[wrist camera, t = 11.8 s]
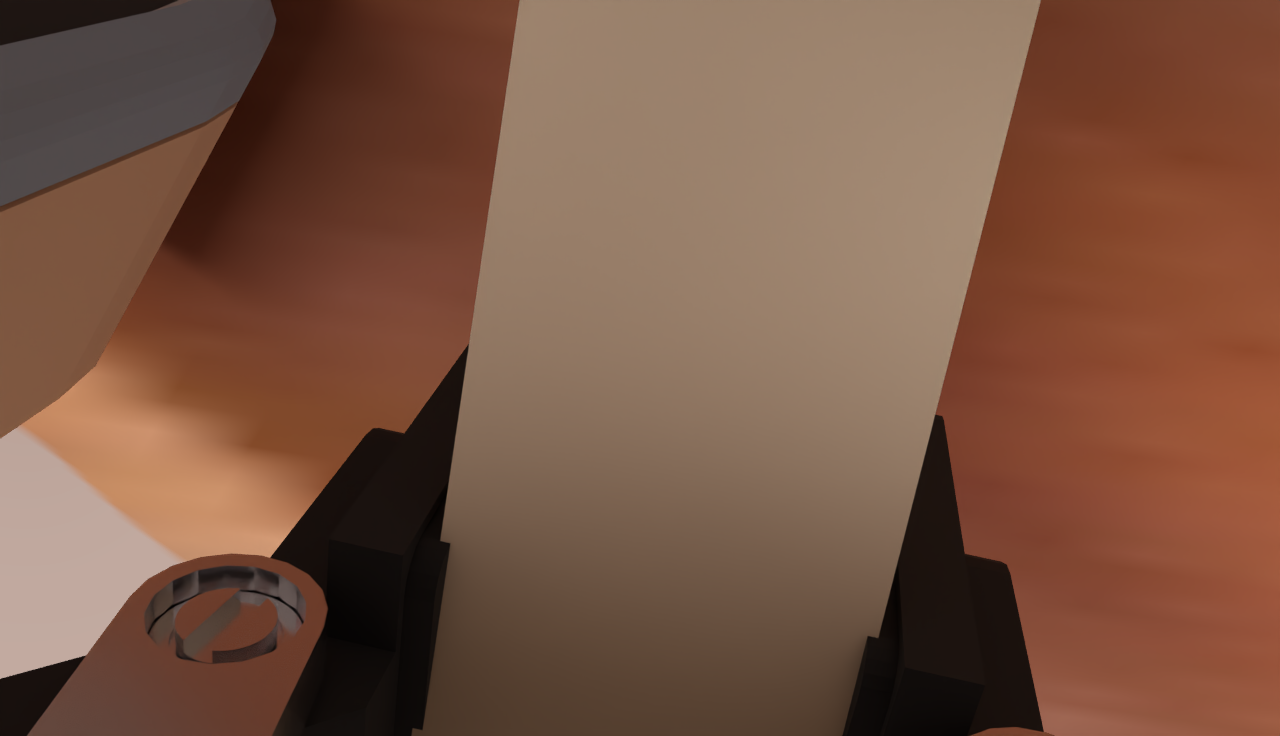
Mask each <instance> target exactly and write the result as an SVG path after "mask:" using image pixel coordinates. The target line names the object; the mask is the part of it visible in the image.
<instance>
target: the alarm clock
mask: <svg viewBox="0 0 1280 736" xmlns="http://www.w3.org/2000/svg"><path fill="white" fill-rule="evenodd" d="M275 24H276V17H275V14H274V10H273V7H272V4H271V0H0V438H2V437H3V436H5V435H6V434H8V433H9V432H11V431H12V430H14V429H15V428H17V427H18V426H19V425H21V424H22V423H24V422H25V421H27V420H28V419H30V418H31V417H33V416H34V415H36V414H37V413H38V412H40V411H41V410H43V409H44V408H46V407H47V406H49V405H50V404H52V403H53V402H55V401H56V400H58V399H59V398H60V397H61V396H62V395H64V394H65V393H66V392H67V391H68V390H69V389H70V388H71V387H72V386H74V385H75V384H76V383H77V382H78V381H79V380H80V379H81V378H82V377H84V376H85V375H86V374H87V373H88V372H89V371H90V370H91V369H92V368H94V367H95V366H96V364H97V362H98V360H99V358H100V356H101V355H102V353H103V351H104V349H105V347H106V345H107V344H108V342H109V340H110V338H111V336H112V334H113V332H114V331H115V329H116V327H117V325H118V323H119V321H120V320H121V318H122V316H123V314H124V312H125V310H126V308H127V307H128V305H129V303H130V301H131V299H132V297H133V296H134V294H135V292H136V290H137V288H138V286H139V284H140V283H141V281H142V279H143V277H144V275H145V273H146V272H147V270H148V268H149V266H150V264H151V262H152V260H153V259H154V257H155V255H156V253H157V251H158V249H159V248H160V246H161V244H162V242H163V240H164V238H165V236H166V235H167V233H168V231H169V229H170V227H171V225H172V224H173V222H174V220H175V218H176V216H177V214H178V213H179V211H180V209H181V207H182V205H183V203H184V201H185V200H186V198H187V196H188V194H189V192H190V190H191V189H192V187H193V185H194V183H195V181H196V179H197V177H198V176H199V174H200V172H201V170H202V168H203V166H204V165H205V163H206V161H207V159H208V157H209V155H210V153H211V152H212V150H213V148H214V146H215V144H216V142H217V141H218V139H219V137H220V135H221V133H222V131H223V129H224V128H225V126H226V124H227V122H228V120H229V118H230V117H231V115H232V113H233V111H234V109H235V107H236V105H237V103H238V101H239V100H240V98H241V96H242V94H243V93H244V91H245V89H246V87H247V85H248V83H249V81H250V80H251V78H252V76H253V74H254V72H255V70H256V69H257V67H258V65H259V63H260V61H261V59H262V57H263V55H264V53H265V51H266V49H267V47H268V45H269V43H270V41H271V39H272V37H273V34H274V30H275Z"/></svg>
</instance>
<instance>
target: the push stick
mask: <svg viewBox="0 0 1280 736" xmlns="http://www.w3.org/2000/svg"><path fill="white" fill-rule="evenodd" d="M1040 2H1041V0H520V2H519V9H518V15H517V22H516V29H515V36H514V43H513V49H512V56H511V63H510V70H509V77H508V83H507V90H506V97H505V104H504V111H503V117H502V124H501V131H500V138H499V145H498V151H497V158H496V165H495V172H494V179H493V185H492V192H491V199H490V206H489V213H488V219H487V226H486V233H485V240H484V247H483V253H482V260H481V267H480V274H479V281H478V287H477V294H476V301H475V308H474V315H473V322H472V328H471V335H470V342H469V349H468V356H467V362H466V369H465V376H464V383H463V390H462V396H461V403H460V410H459V417H458V424H457V430H456V437H455V444H454V451H453V458H452V464H451V471H450V478H449V485H448V492H447V498H446V505H445V512H444V519H443V526H442V532H441V539H440V541H443V542H447V543H451V544H450V550H449V557H448V564H447V570H446V577H445V584H444V590H443V597H442V604H441V611H440V617H439V624H438V631H437V637H436V644H435V651H434V657H433V664H432V671H431V677H430V684H429V691H428V698H427V704H426V711H425V718H424V724H423V730H419V729H414V728H413V730H412V736H842V735H843V731H844V728H845V724H846V720H847V716H848V712H849V708H850V704H851V700H852V696H853V692H854V688H855V684H856V680H857V676H858V672H859V668H860V664H861V660H862V656H863V652H864V648H865V644H866V640H867V636H871V637H876V638H878V637H879V633H880V629H881V625H882V621H883V617H884V613H885V609H886V605H887V602H888V598H889V594H890V590H891V586H892V582H893V578H894V574H895V570H896V566H897V562H898V558H899V554H900V551H901V547H902V543H903V539H904V535H905V531H906V527H907V523H908V519H909V515H910V511H911V507H912V504H913V500H914V496H915V492H916V488H917V484H918V480H919V476H920V472H921V468H922V464H923V460H924V456H925V453H926V449H927V445H928V441H929V437H930V433H931V429H932V425H933V421H934V417H935V413H936V409H937V406H938V402H939V398H940V394H941V390H942V386H943V382H944V378H945V374H946V370H947V366H948V362H949V358H950V355H951V351H952V347H953V343H954V339H955V335H956V331H957V327H958V323H959V319H960V315H961V311H962V307H963V304H964V300H965V296H966V292H967V288H968V284H969V280H970V276H971V272H972V268H973V264H974V260H975V257H976V253H977V249H978V245H979V241H980V237H981V233H982V229H983V225H984V221H985V217H986V213H987V209H988V206H989V202H990V198H991V194H992V190H993V186H994V182H995V178H996V174H997V170H998V166H999V162H1000V158H1001V155H1002V151H1003V147H1004V143H1005V139H1006V135H1007V131H1008V127H1009V123H1010V119H1011V115H1012V111H1013V108H1014V104H1015V100H1016V96H1017V92H1018V88H1019V84H1020V80H1021V76H1022V72H1023V68H1024V64H1025V60H1026V57H1027V53H1028V49H1029V45H1030V41H1031V37H1032V33H1033V29H1034V25H1035V21H1036V17H1037V13H1038V9H1039V6H1040Z"/></svg>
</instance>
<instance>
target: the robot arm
mask: <svg viewBox="0 0 1280 736" xmlns="http://www.w3.org/2000/svg"><path fill="white" fill-rule="evenodd" d="M468 349H469V344H468V346H467V347H466V349H465V350H464V351H463V353H462V354H461V356H460V357H459V358H458V360H457V361H456V363H455V364H454V365H453V367H452V368H451V369H450V371H449V372H448V374H447V375H446V376H445V378H444V379H443V381H442V382H441V383H440V385H439V386H438V388H437V389H436V390H435V392H434V393H433V395H432V396H431V397H430V399H429V400H428V402H427V403H426V404H425V406H424V407H423V408H422V410H421V411H420V413H419V414H418V415H417V417H416V418H415V420H414V421H413V422H412V424H411V425H410V427H409V428H408V429H407V431H406V432H405V434H404V433H399V432H395V431H390V430H385V429H381V428H373V429H372V430H371V431H370V432H369V433H368V434H366V435H365V437H364V438H363V439H362V441H361V442H360V443H359V444H358V446H357V447H356V448H355V450H354V451H353V452H352V453H351V455H350V456H349V457H348V459H347V460H346V461H345V462H344V464H343V465H342V466H341V468H340V469H339V470H338V471H337V473H336V474H335V475H334V476H333V478H332V479H331V480H330V482H329V483H328V484H327V485H326V487H325V488H324V489H323V491H322V492H321V493H320V494H319V496H318V497H317V498H316V500H315V501H314V502H313V503H312V505H311V506H310V507H309V509H308V510H307V511H306V512H305V514H304V515H303V516H302V518H301V519H300V520H299V521H298V523H297V524H296V525H295V527H294V528H293V529H292V530H291V532H290V533H289V534H288V536H287V537H286V538H285V539H284V541H283V542H282V543H281V545H280V546H279V547H278V548H277V550H276V551H275V552H274V554H273V555H272V556H271V557H270V558H268V557H264V556H259V555H244V554H224V555H215V556H206V557H200V558H197V559H193V560H190V561H187V562H183V563H180V564H177V565H174V566H171V567H169V568H168V569H166V570H164V571H162V572H160V573H158V574H156V575H155V576H153V577H151V578H149V579H148V580H147V581H146V582H144V583H143V584H142V585H141V586H140V588H138V589H137V590H136V591H135V592H134V593H133V594H132V595H131V596H130V597H129V598H128V600H127V601H126V603H125V604H124V605H123V607H122V608H121V609H120V611H119V612H118V613H117V615H116V616H115V618H114V619H113V620H112V621H111V623H110V624H109V626H108V627H107V628H106V630H105V631H104V632H103V634H102V635H101V636H100V638H99V639H98V640H97V642H96V643H95V644H94V646H93V647H92V648H91V650H90V651H89V653H88V654H87V655H86V656H82V657H79V658H75V659H72V660H68V661H64V662H61V663H57V664H53V665H50V666H46V667H43V668H38V669H35V670H31V671H28V672H24V673H20V674H17V675H13V676H9V677H6V678H2V679H0V736H412V730H413V728H414V729H419V730H423V724H424V718H425V711H426V704H427V698H428V691H429V684H430V677H431V671H432V664H433V657H434V651H435V644H436V637H437V631H438V624H439V617H440V611H441V604H442V597H443V590H444V584H445V577H446V570H447V564H448V557H449V550H450V544H451V543H447V542H443V541H440V539H441V532H442V526H443V519H444V512H445V505H446V498H447V492H448V485H449V478H450V471H451V464H452V458H453V451H454V444H455V437H456V430H457V424H458V417H459V410H460V403H461V396H462V390H463V383H464V376H465V369H466V362H467V356H468ZM842 736H1054V735H1052V734H1049V733H1046V732H1044V730H1043V726H1042V721H1041V716H1040V712H1039V707H1038V702H1037V697H1036V693H1035V688H1034V683H1033V679H1032V674H1031V669H1030V665H1029V660H1028V655H1027V650H1026V646H1025V641H1024V636H1023V632H1022V627H1021V622H1020V618H1019V613H1018V608H1017V603H1016V599H1015V594H1014V589H1013V585H1012V580H1011V575H1010V572H1009V570H1008V567H1007V565H1006V564H1004V563H1003V562H1000V561H995V560H991V559H986V558H981V557H977V556H972V555H967V554H965V553H964V546H963V540H962V534H961V527H960V521H959V515H958V508H957V502H956V495H955V489H954V483H953V476H952V470H951V463H950V457H949V451H948V444H947V438H946V432H945V425H944V420H943V417H942V416H939V415H935V417H934V421H933V425H932V429H931V433H930V437H929V441H928V445H927V449H926V453H925V456H924V460H923V464H922V468H921V472H920V476H919V480H918V484H917V488H916V492H915V496H914V500H913V504H912V507H911V511H910V515H909V519H908V523H907V527H906V531H905V535H904V539H903V543H902V547H901V551H900V554H899V558H898V562H897V566H896V570H895V574H894V578H893V582H892V586H891V590H890V594H889V598H888V602H887V605H886V609H885V613H884V617H883V621H882V625H881V629H880V633H879V637H878V638H876V637H871V636H867V640H866V644H865V648H864V652H863V656H862V660H861V664H860V668H859V672H858V676H857V680H856V684H855V688H854V692H853V696H852V700H851V704H850V708H849V712H848V716H847V720H846V724H845V728H844V731H843V735H842Z"/></svg>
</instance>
